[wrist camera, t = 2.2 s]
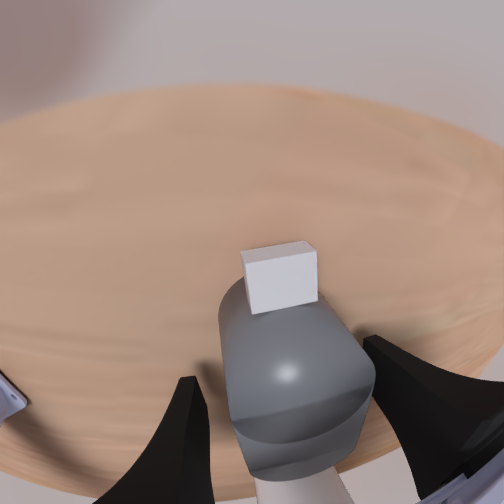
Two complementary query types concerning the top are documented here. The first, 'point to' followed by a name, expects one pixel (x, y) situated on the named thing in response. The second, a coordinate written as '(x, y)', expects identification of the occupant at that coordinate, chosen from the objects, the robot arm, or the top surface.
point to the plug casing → (290, 367)
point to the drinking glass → (304, 490)
